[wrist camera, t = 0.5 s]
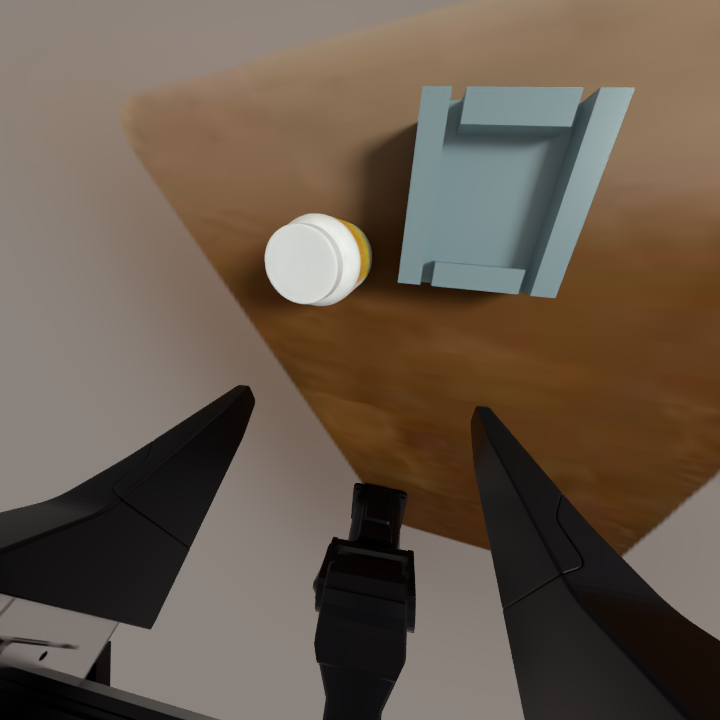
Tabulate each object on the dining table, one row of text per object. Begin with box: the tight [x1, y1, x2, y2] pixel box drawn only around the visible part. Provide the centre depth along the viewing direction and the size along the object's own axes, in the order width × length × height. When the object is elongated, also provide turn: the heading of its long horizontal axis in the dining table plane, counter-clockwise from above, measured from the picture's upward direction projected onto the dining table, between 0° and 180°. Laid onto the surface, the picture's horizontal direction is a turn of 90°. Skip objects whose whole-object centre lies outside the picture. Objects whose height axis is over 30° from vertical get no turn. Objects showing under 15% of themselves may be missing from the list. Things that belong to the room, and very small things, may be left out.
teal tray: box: [398, 86, 635, 298], centre depth 17 cm, size 10×10×4 cm
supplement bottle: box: [265, 214, 372, 306], centre depth 18 cm, size 5×5×10 cm
